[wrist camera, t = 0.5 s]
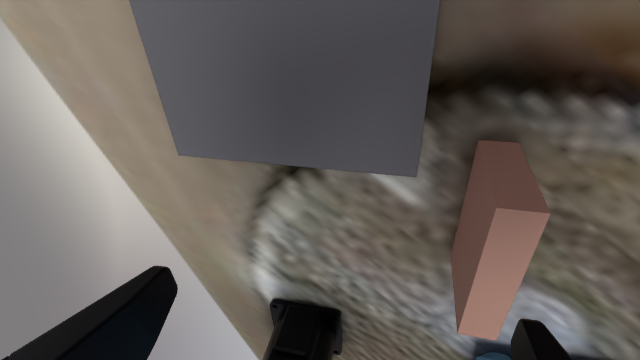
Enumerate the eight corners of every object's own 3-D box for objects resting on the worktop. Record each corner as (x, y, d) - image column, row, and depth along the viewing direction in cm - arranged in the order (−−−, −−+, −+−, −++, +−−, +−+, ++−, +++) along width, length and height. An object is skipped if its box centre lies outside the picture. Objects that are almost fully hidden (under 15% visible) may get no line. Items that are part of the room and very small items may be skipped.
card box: (482, 258, 24) (497, 340, 19) (450, 254, 24) (457, 333, 19) (519, 142, 19) (552, 213, 14) (478, 139, 19) (496, 207, 14)
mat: (416, 173, 21) (416, 177, 21) (181, 152, 25) (178, 155, 24) (449, -72, 14) (449, -72, 14) (117, -53, 18) (112, -53, 17)
